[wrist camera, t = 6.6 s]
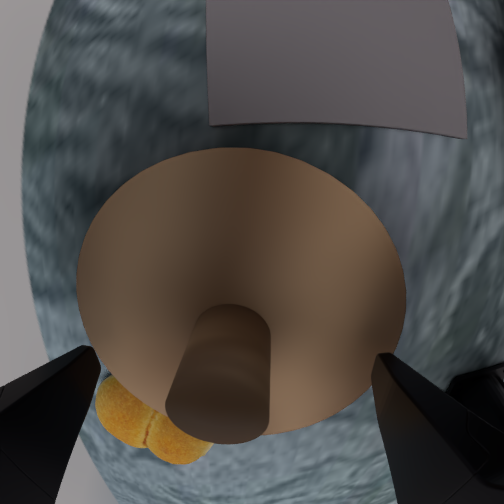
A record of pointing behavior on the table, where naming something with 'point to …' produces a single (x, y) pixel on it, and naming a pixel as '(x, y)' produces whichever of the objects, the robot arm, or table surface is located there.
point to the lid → (240, 292)
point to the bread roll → (144, 425)
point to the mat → (335, 64)
